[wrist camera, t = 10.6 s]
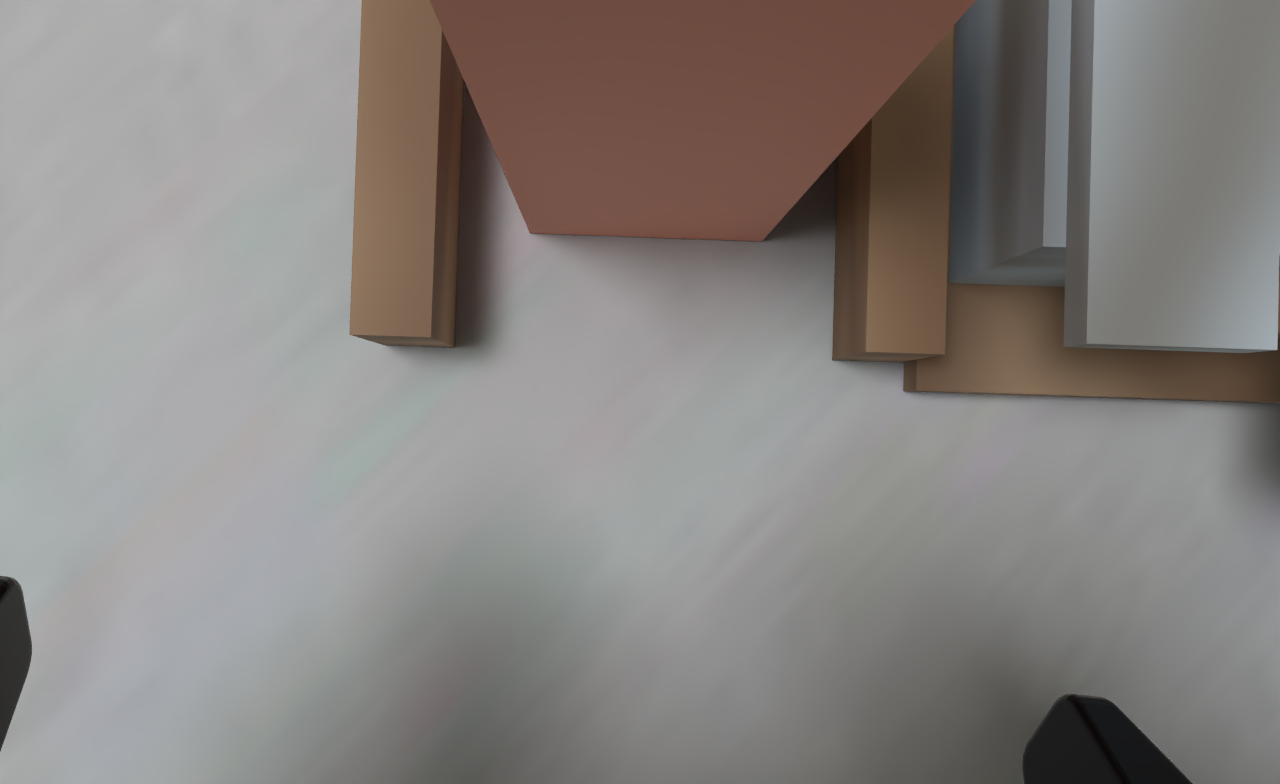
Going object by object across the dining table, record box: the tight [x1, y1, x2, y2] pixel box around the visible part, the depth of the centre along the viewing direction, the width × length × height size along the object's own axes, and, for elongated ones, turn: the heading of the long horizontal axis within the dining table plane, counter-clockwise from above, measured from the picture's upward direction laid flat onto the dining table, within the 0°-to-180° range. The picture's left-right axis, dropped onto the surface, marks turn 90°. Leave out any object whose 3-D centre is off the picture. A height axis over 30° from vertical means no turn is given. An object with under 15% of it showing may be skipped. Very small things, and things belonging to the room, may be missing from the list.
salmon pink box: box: [430, 0, 976, 241], centre depth 13 cm, size 3×4×12 cm
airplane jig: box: [350, 0, 1280, 403], centre depth 16 cm, size 23×11×6 cm, turn 88°
